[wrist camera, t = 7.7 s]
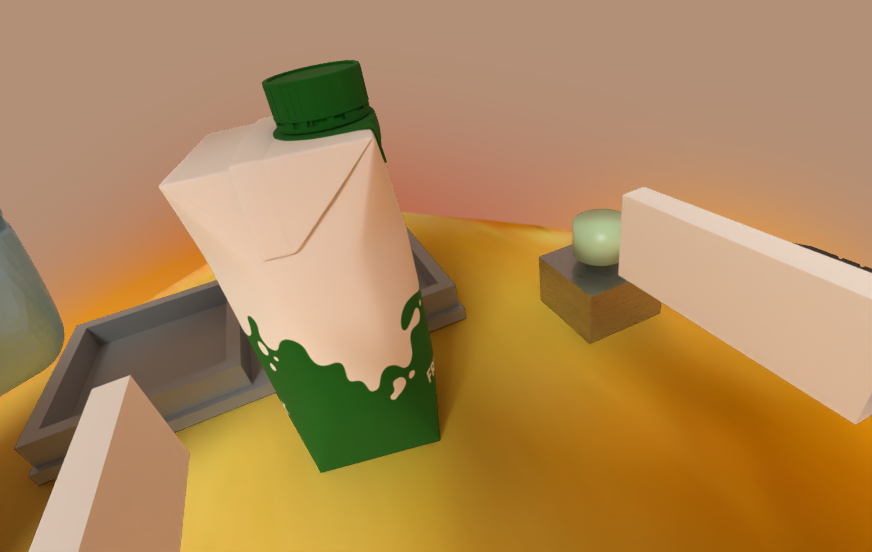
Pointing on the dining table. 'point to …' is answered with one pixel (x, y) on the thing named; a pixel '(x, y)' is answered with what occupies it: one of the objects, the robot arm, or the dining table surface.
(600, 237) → the button
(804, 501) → the dining table surface
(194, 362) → the pocket tray
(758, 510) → the dining table surface
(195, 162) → the soya milk
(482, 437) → the dining table surface
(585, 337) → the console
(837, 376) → the robot arm
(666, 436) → the dining table surface
